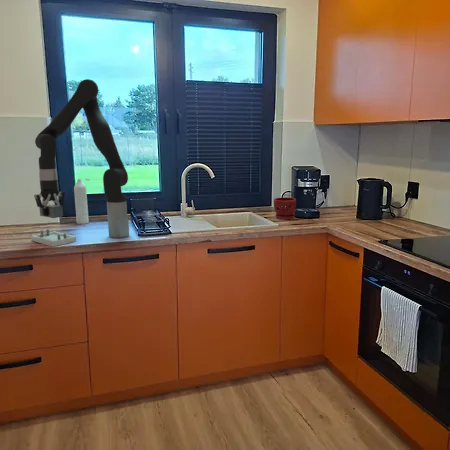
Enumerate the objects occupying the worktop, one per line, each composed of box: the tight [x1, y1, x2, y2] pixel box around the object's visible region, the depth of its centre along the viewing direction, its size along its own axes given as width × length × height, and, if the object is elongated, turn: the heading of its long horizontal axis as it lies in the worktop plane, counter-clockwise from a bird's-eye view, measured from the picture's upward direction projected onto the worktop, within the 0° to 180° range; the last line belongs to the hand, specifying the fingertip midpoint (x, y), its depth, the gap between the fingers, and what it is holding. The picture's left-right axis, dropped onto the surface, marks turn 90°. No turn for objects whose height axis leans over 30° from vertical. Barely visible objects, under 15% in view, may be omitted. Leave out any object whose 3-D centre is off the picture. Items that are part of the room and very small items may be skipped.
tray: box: [30, 228, 77, 247], centre depth 195 cm, size 18×12×4 cm, turn 52°
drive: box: [38, 203, 64, 219], centre depth 193 cm, size 10×5×5 cm, turn 58°
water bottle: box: [73, 177, 91, 225], centre depth 232 cm, size 9×6×25 cm
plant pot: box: [273, 196, 297, 221], centre depth 247 cm, size 13×13×12 cm
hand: (51, 215), depth 193 cm, fingers closed on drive, 5 cm apart
